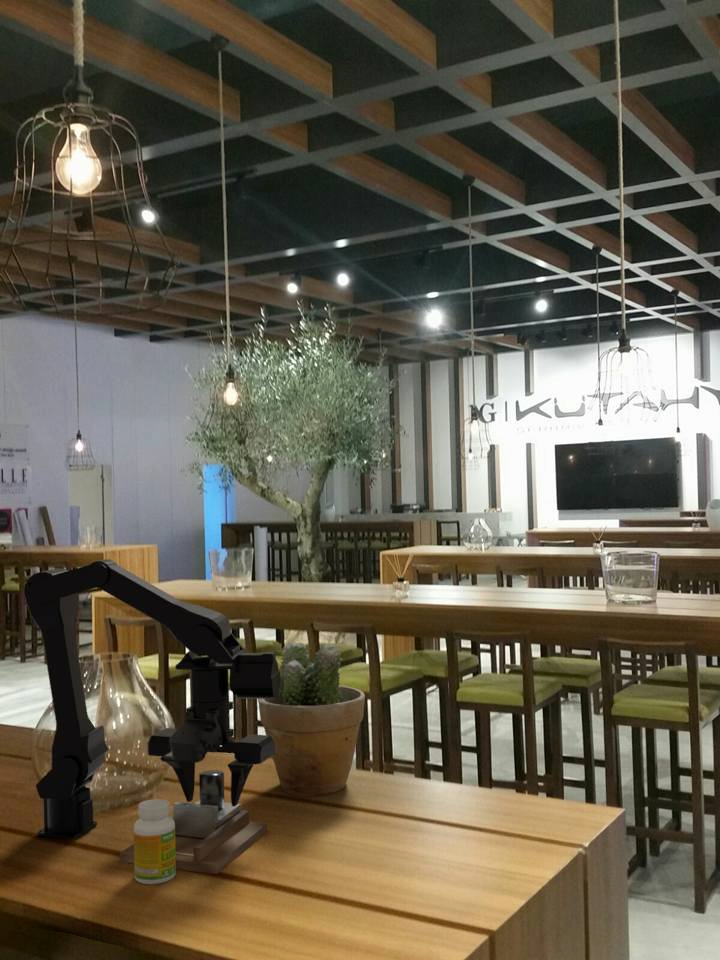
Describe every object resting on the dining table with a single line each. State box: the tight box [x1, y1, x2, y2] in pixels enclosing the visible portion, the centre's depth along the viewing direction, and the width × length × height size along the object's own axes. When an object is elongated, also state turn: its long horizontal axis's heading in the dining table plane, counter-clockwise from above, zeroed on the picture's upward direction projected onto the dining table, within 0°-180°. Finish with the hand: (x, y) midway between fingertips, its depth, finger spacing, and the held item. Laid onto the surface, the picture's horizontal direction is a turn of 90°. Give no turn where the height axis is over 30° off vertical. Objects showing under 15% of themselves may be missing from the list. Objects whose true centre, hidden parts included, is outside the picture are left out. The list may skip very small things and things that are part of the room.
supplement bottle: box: [133, 798, 177, 885], centre depth 126 cm, size 5×5×10 cm
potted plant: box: [257, 641, 366, 797], centre depth 163 cm, size 18×19×25 cm
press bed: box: [119, 809, 268, 875], centre depth 137 cm, size 15×16×3 cm
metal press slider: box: [172, 769, 242, 838], centre depth 140 cm, size 7×8×7 cm
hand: (212, 803), depth 141 cm, fingers open, 7 cm apart
